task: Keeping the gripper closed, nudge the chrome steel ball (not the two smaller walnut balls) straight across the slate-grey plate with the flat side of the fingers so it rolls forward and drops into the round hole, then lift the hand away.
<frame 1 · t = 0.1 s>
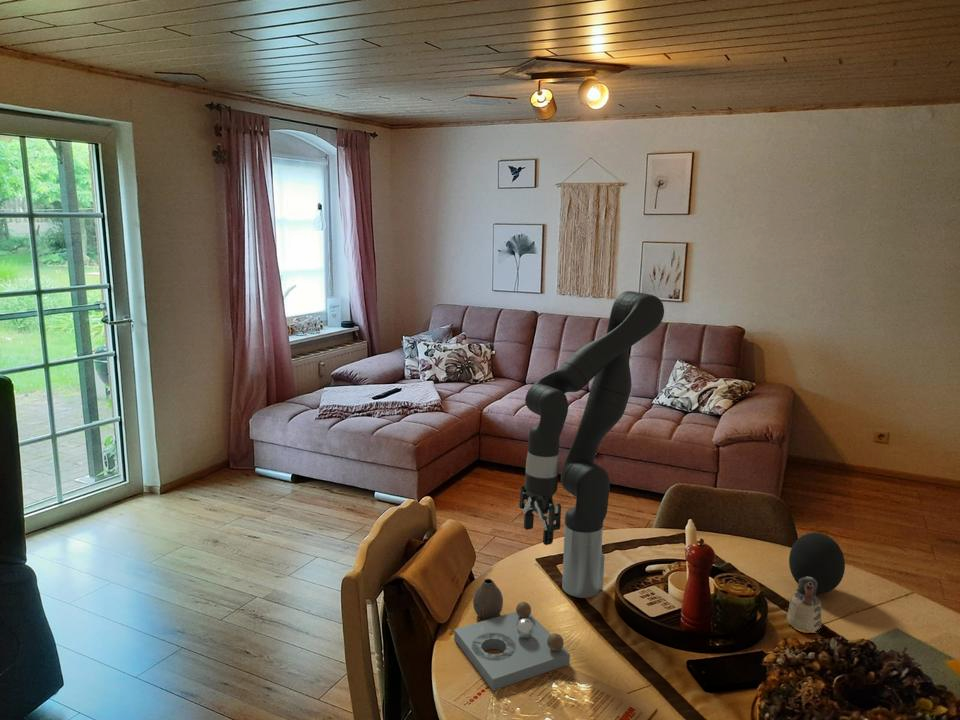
hand: (537, 536, 158), 17 cm above the table, tool pointing down, fingers open, 8 cm apart
steel ball: (524, 628, 144), point 4 cm above the table, touching hole plate
walnut ball A: (523, 609, 151), point 4 cm above the table, touching hole plate
hole plate: (510, 651, 143), on the table
decorative egg: (812, 591, 168), on the table
walnut ball B: (555, 642, 140), point 4 cm above the table, touching hole plate
vase: (487, 616, 156), on the table
figurine: (803, 626, 154), on the table
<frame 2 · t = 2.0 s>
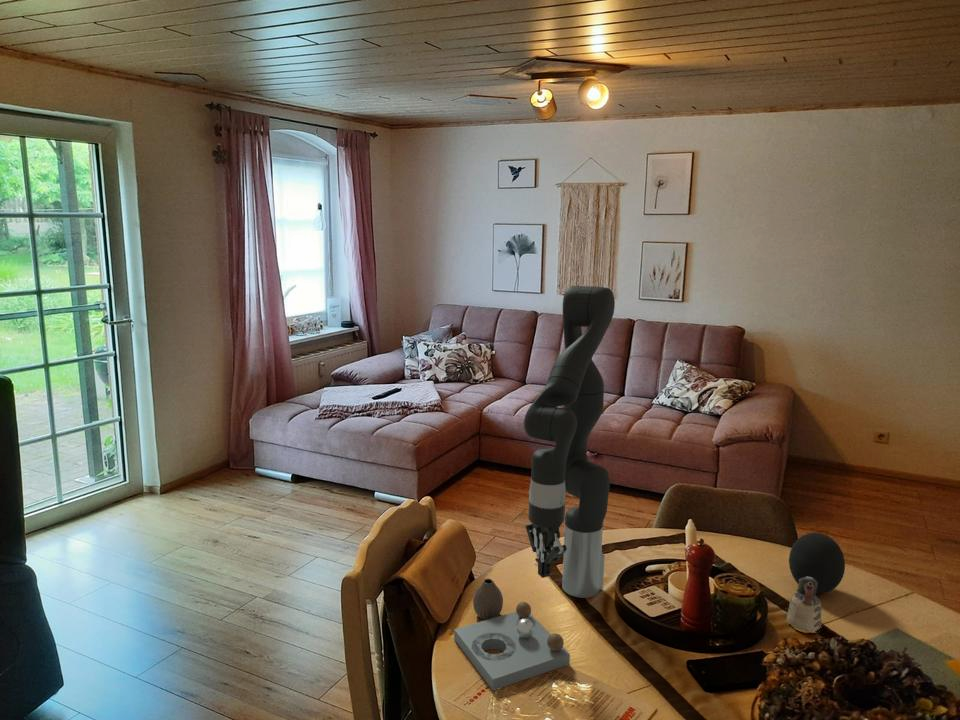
hand: (543, 575, 144), 16 cm above the table, tool pointing down, fingers closed
nothing on the table moved.
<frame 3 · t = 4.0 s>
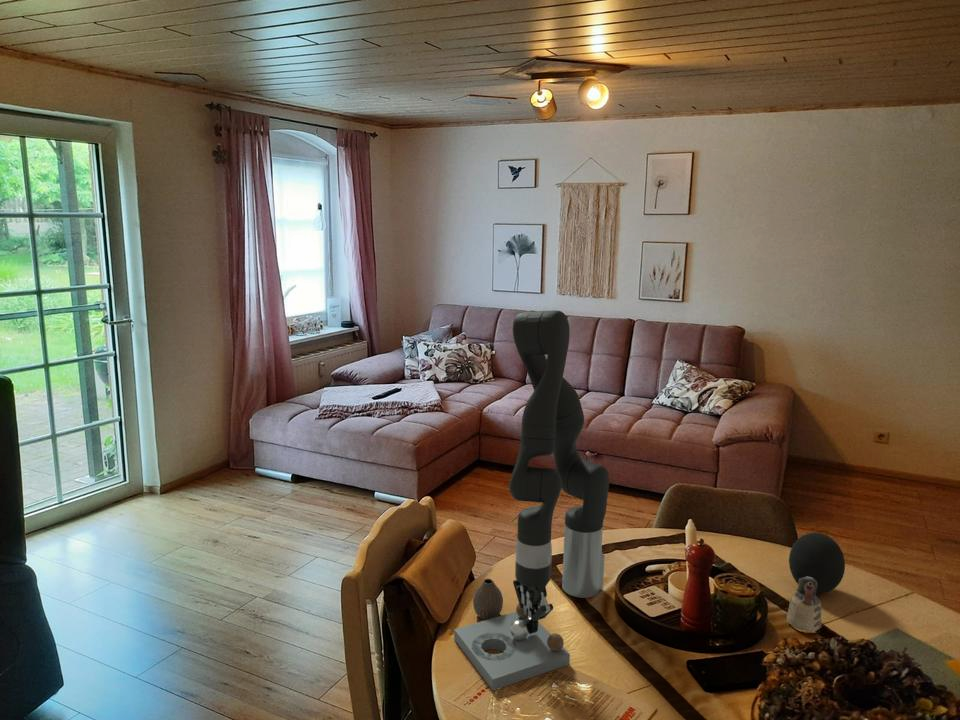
hand: (531, 631, 145), 3 cm above the table, tool pointing down, fingers closed
steel ball: (518, 629, 144), point 4 cm above the table, tilted 42°, touching gripper, hole plate
everything else where it was.
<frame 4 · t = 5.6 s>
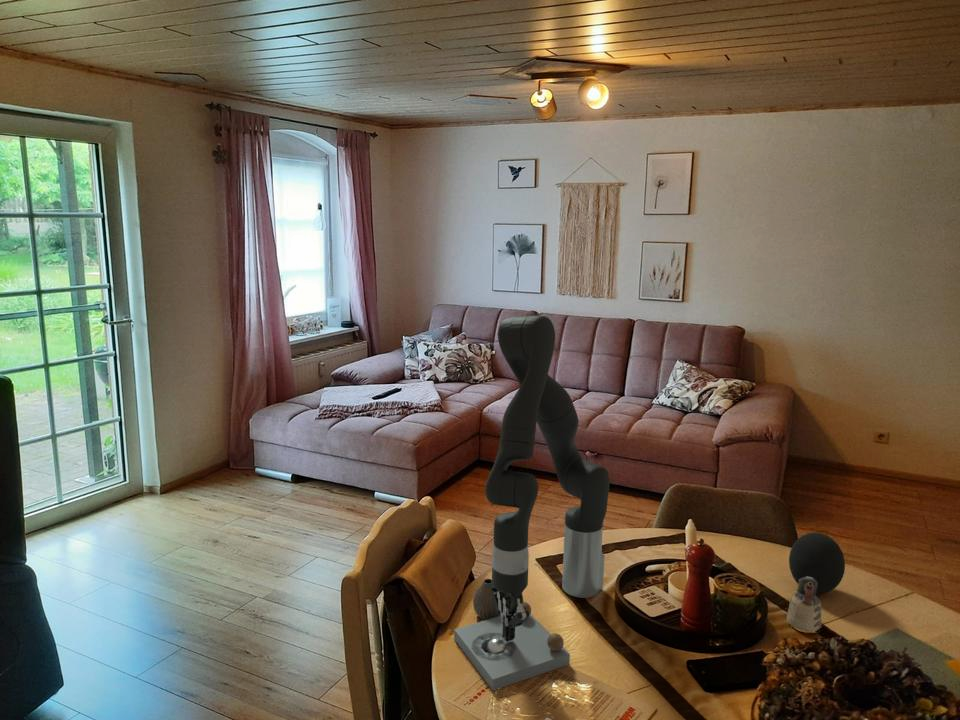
hand: (508, 638, 143), 3 cm above the table, tool pointing down, fingers closed
steel ball: (496, 648, 141), point 2 cm above the table, tilted 140°
everything else where it was.
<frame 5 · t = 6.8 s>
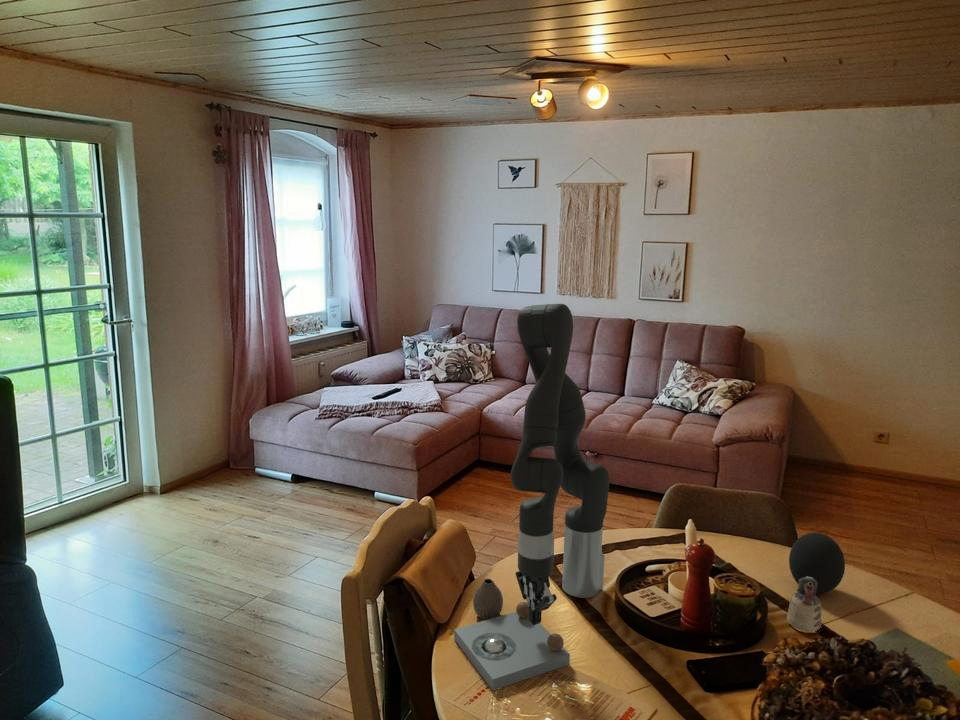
hand: (534, 622, 144), 6 cm above the table, tool pointing down, fingers closed
steel ball: (493, 648, 141), point 2 cm above the table, tilted 155°
everything else where it was.
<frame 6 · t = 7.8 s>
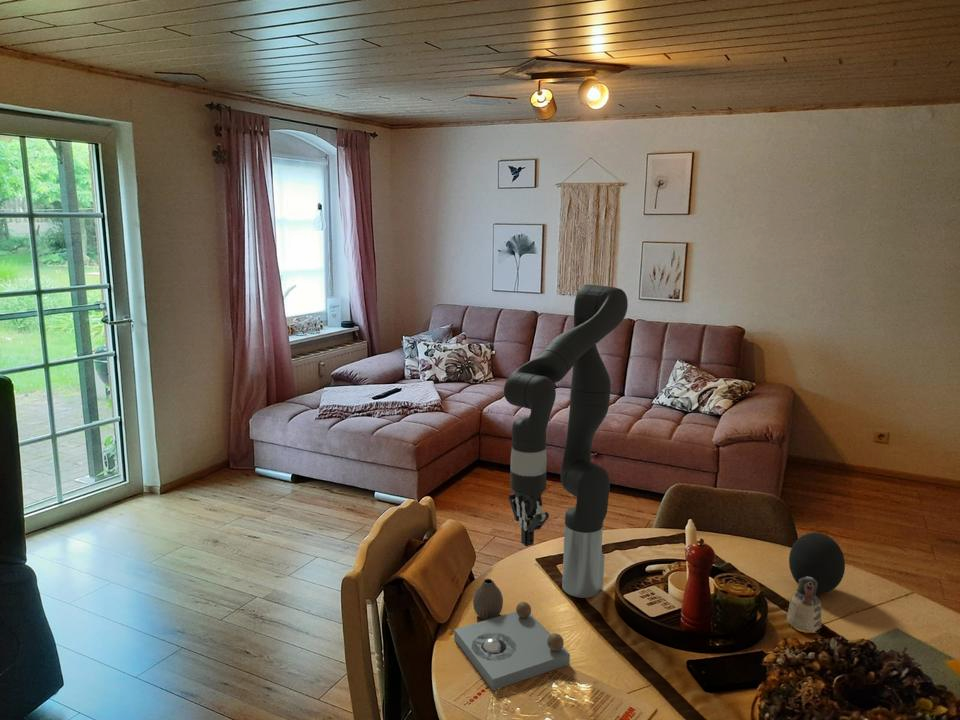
hand: (527, 544, 144), 22 cm above the table, tool pointing down, fingers closed
steel ball: (491, 648, 141), point 2 cm above the table, tilted 167°
everything else where it was.
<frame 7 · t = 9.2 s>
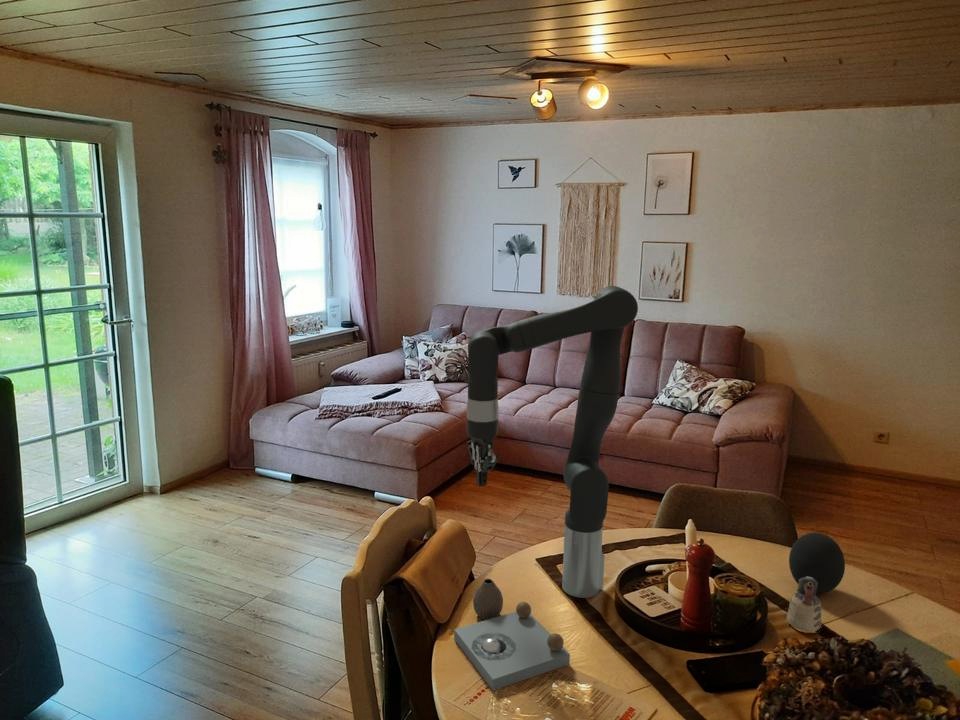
hand: (481, 484, 163), 27 cm above the table, tool pointing down, fingers closed
nothing on the table moved.
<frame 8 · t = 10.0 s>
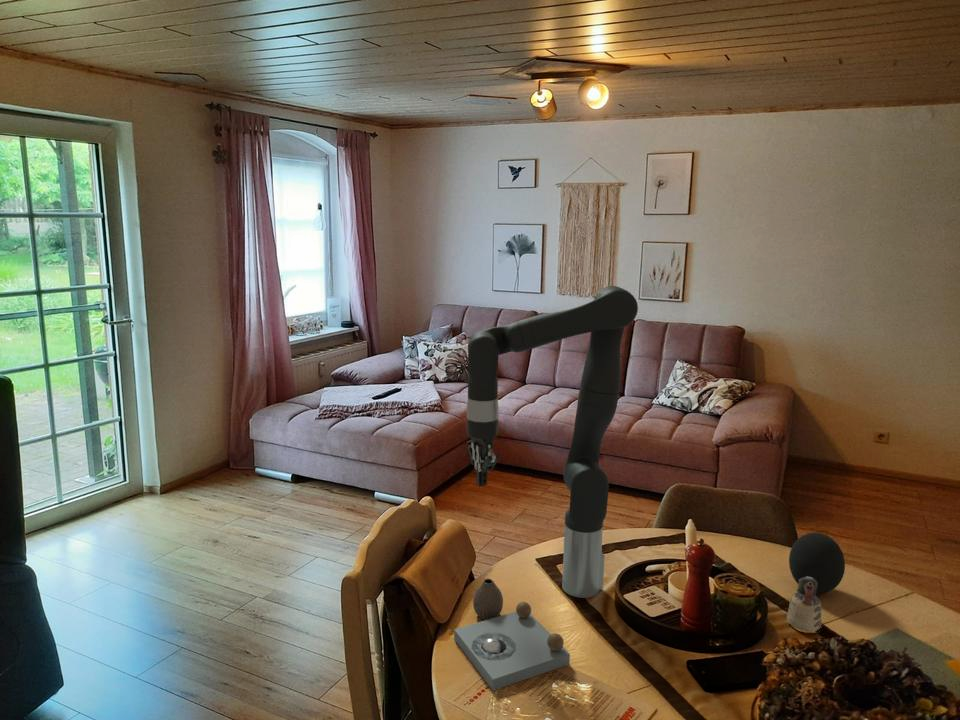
hand: (481, 484, 163), 27 cm above the table, tool pointing down, fingers closed
nothing on the table moved.
at the end: steel ball 0.5 cm from the target spot in the hole plate, point 2.0 cm above the hole plate's base; walnut ball A moved 0.0 cm from its start; walnut ball B moved 0.0 cm from its start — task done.
